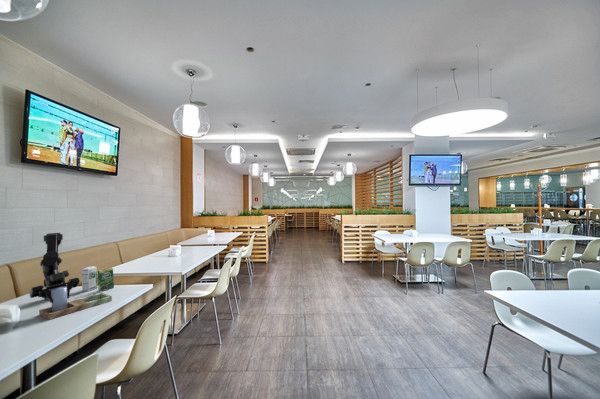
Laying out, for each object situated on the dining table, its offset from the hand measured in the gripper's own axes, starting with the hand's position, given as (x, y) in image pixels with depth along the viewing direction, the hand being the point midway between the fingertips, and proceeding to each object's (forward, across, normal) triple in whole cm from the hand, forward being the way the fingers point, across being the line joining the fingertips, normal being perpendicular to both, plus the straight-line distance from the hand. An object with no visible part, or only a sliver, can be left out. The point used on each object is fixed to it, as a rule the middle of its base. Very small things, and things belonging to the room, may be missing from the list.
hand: (60, 300), depth 132 cm
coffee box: (-10, +29, +20) cm, 37 cm away
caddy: (+4, +7, +6) cm, 10 cm away
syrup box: (-18, +24, +27) cm, 40 cm away
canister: (+4, 0, +6) cm, 7 cm away
